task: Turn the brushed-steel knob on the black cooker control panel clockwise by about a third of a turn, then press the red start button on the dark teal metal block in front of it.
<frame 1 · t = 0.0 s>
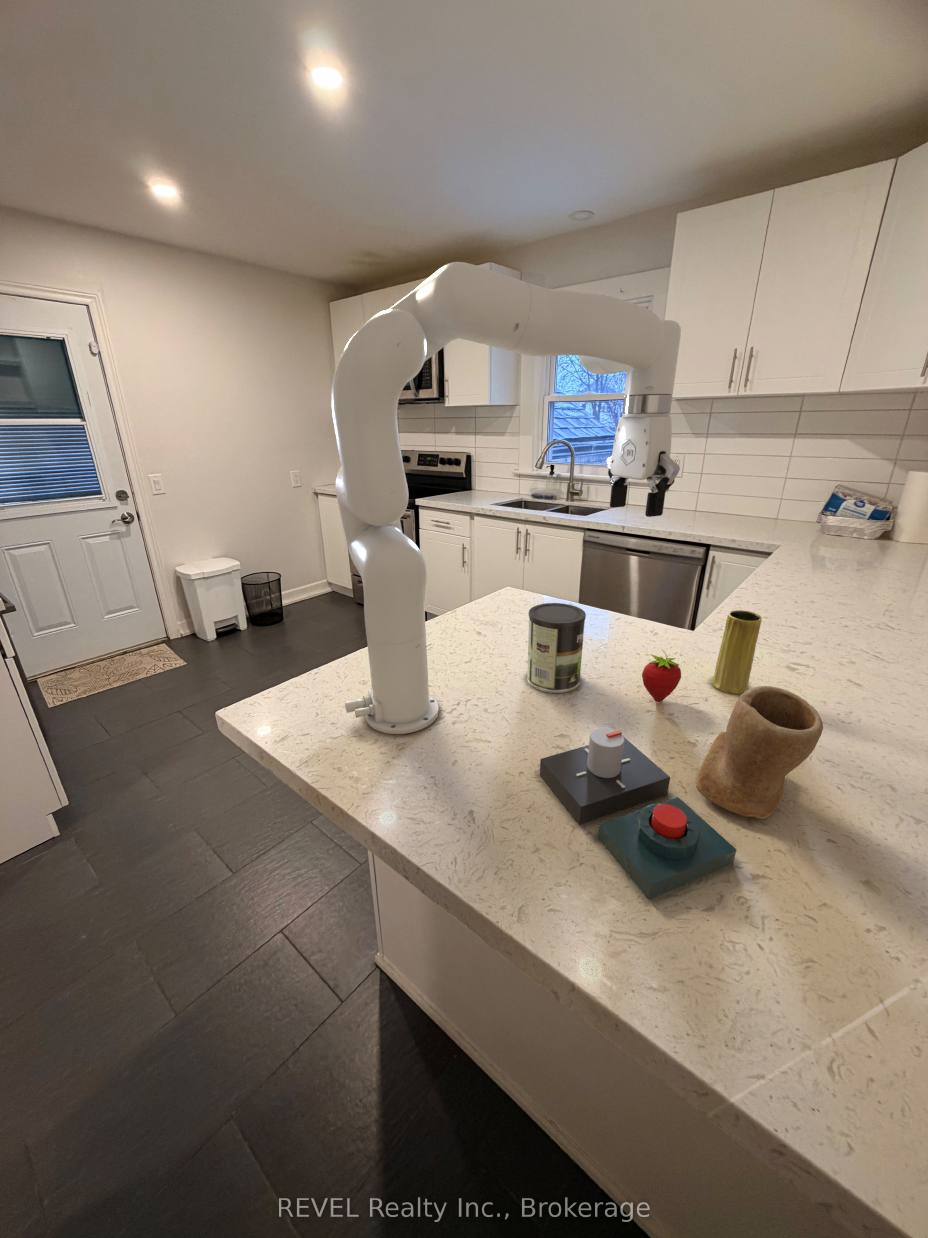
hand: (634, 511, 89), 31 cm above the countertop, tool pointing down, fingers open, 9 cm apart
stone cup: (746, 788, 68), on the countertop
button block: (663, 850, 58), on the countertop
strawberry: (657, 702, 88), on the countertop
hob knob: (605, 751, 66), point 6 cm above the countertop, hinge at 0.0°
coffee can: (552, 680, 96), on the countertop
hob panel: (601, 785, 69), on the countertop
vase: (729, 687, 92), on the countertop
start button: (668, 821, 56), point 4 cm above the countertop, slide at 0.1 cm
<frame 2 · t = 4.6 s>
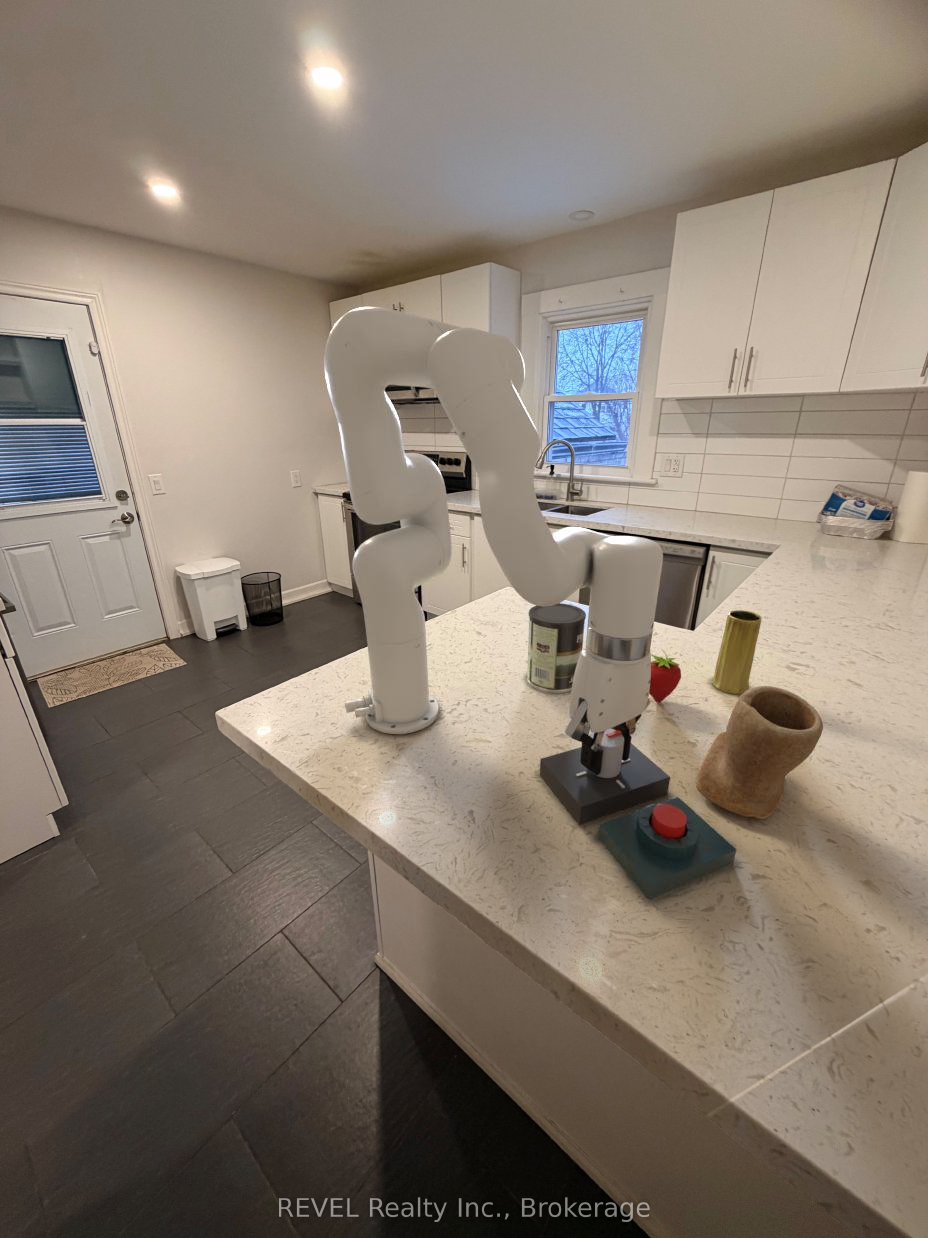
hand: (604, 760, 67), 4 cm above the countertop, tool pointing down, fingers closed on hob knob, 4 cm apart
hob knob: (605, 751, 66), point 6 cm above the countertop, hinge at 0.1°, touching gripper
everything else where it was.
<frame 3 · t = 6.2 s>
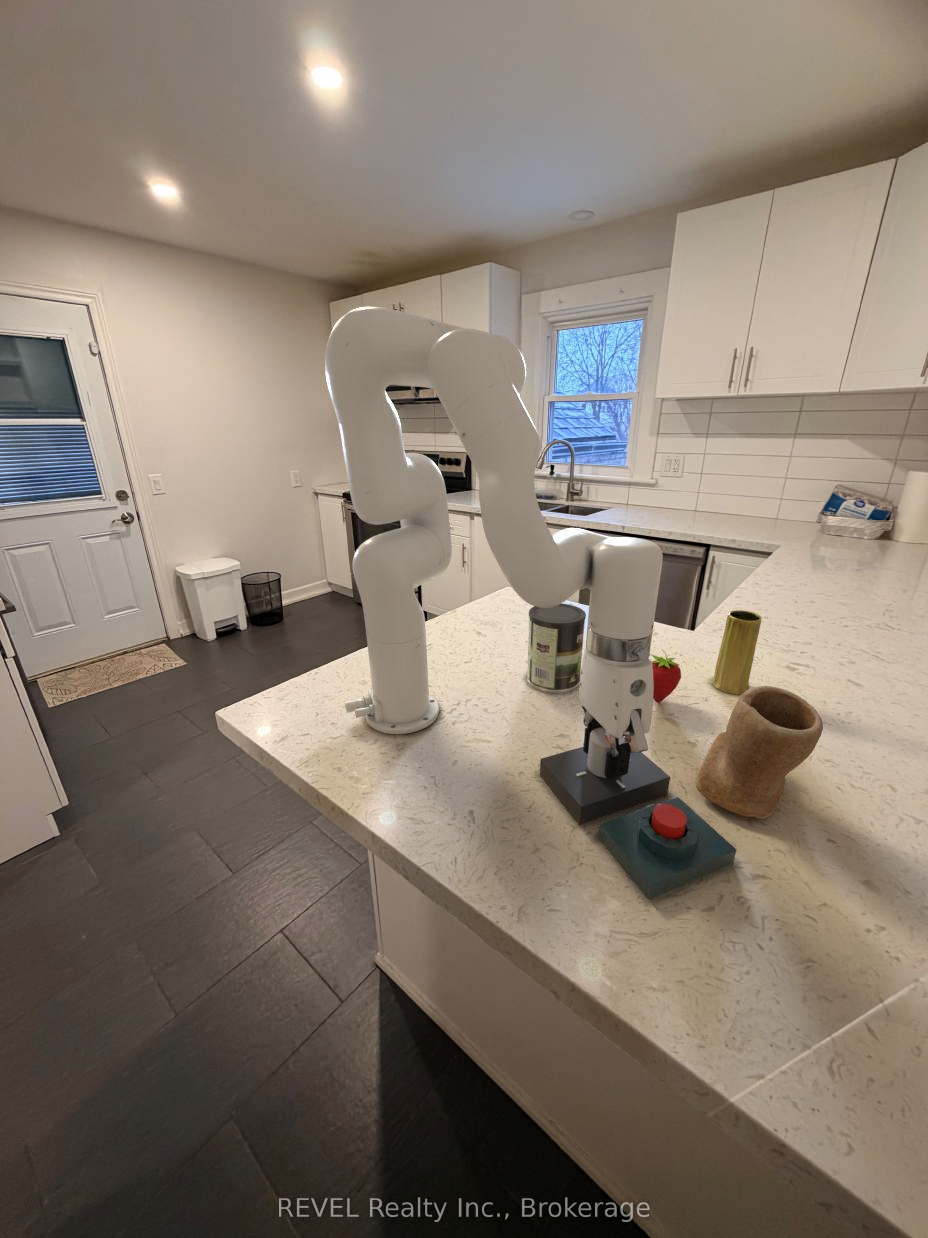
hand: (604, 761, 67), 4 cm above the countertop, tool pointing down, fingers open, 4 cm apart
hob knob: (605, 751, 66), point 6 cm above the countertop, hinge at -105.9°
everything else where it was.
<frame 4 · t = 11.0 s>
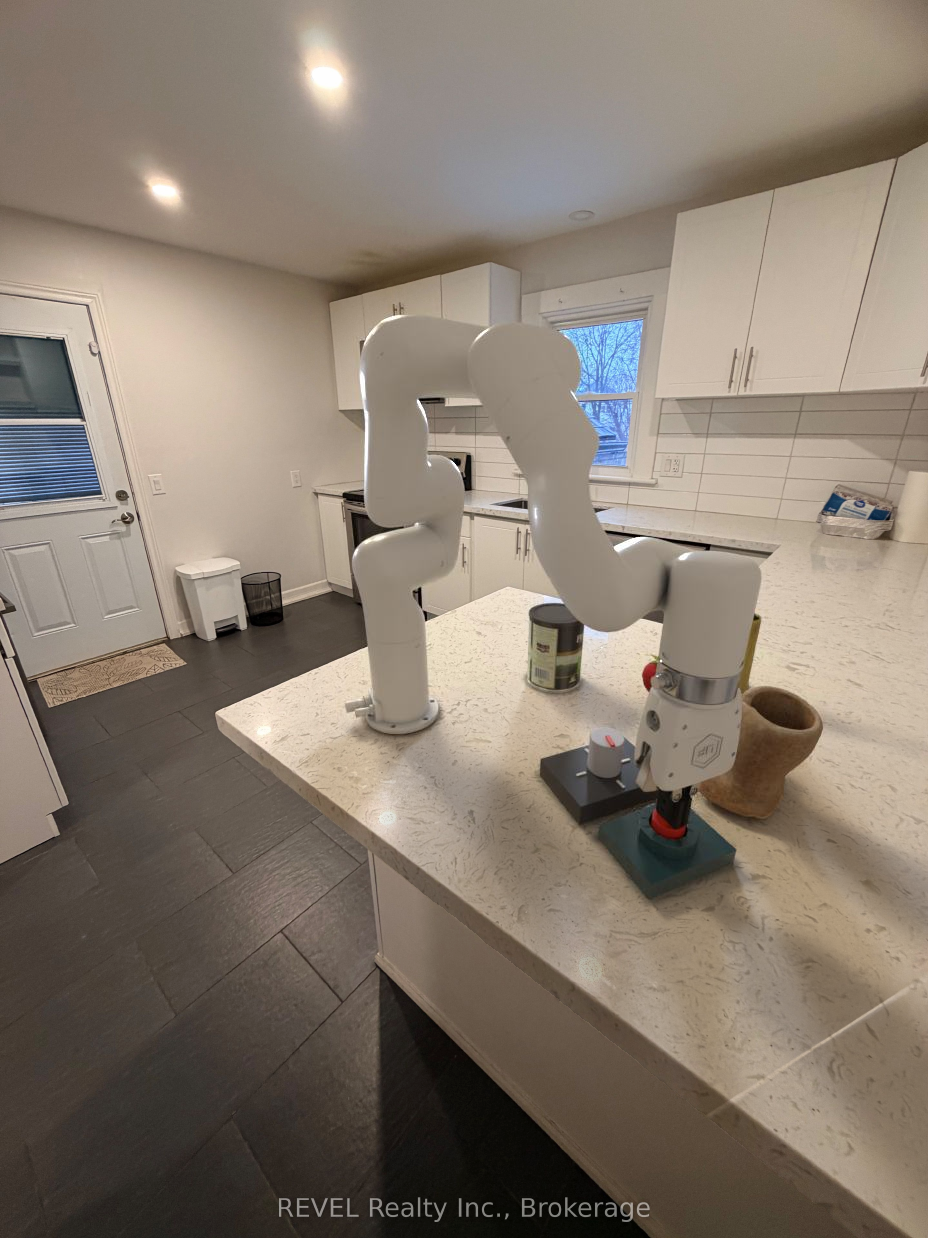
hand: (670, 818, 56), 5 cm above the countertop, tool pointing down, fingers closed
start button: (668, 823, 57), point 4 cm above the countertop, slide at -0.3 cm, touching gripper
everything else where it was.
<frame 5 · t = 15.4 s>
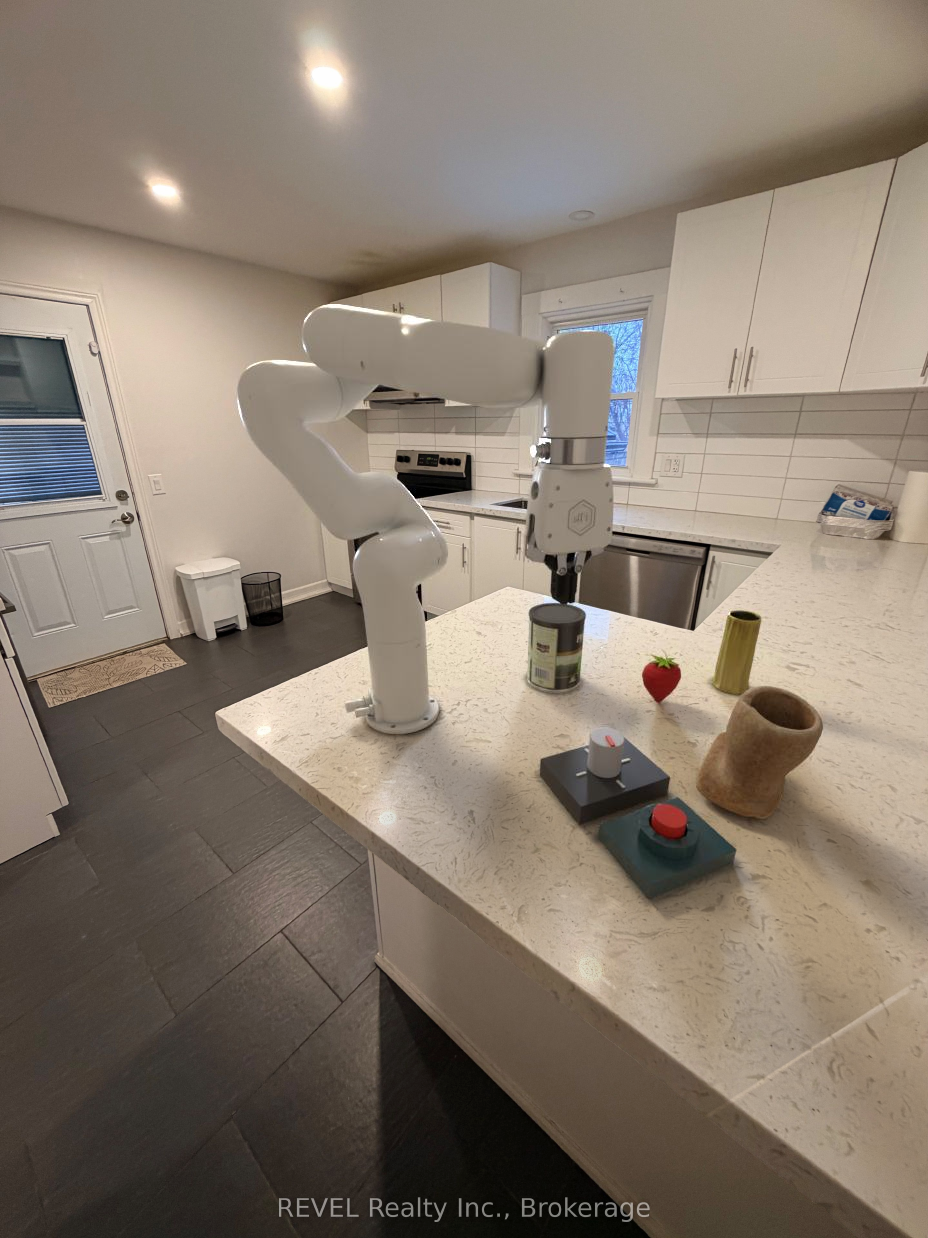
hand: (562, 600, 65), 25 cm above the countertop, tool pointing down, fingers closed
start button: (668, 821, 56), point 4 cm above the countertop, slide at 0.1 cm
everything else where it was.
at the end: hob knob at -106° (first picture: +0°); start button pushed in 1.1 cm at the most during the clip, back to where it started at the end; start button slide at 0.1 cm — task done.
